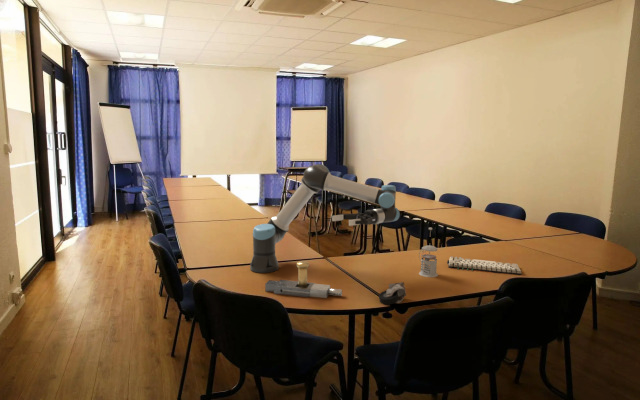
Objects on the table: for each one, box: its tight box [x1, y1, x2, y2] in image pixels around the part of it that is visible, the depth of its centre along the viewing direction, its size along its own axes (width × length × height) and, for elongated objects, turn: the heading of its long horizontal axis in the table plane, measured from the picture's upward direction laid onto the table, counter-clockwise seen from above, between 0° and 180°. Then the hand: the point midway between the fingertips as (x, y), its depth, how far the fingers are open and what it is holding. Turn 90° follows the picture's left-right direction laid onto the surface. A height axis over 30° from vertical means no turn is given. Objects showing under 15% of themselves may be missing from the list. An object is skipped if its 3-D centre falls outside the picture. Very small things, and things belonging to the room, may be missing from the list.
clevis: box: [264, 279, 343, 299], centre depth 187 cm, size 35×9×4 cm, turn 76°
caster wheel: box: [378, 281, 407, 306], centre depth 178 cm, size 7×11×10 cm
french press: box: [418, 227, 439, 278], centre depth 214 cm, size 10×12×25 cm
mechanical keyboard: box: [446, 256, 522, 276], centre depth 228 cm, size 38×19×3 cm, turn 72°
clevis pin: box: [295, 260, 310, 288], centre depth 186 cm, size 6×6×14 cm
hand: (340, 220), depth 201 cm, fingers open, 13 cm apart
